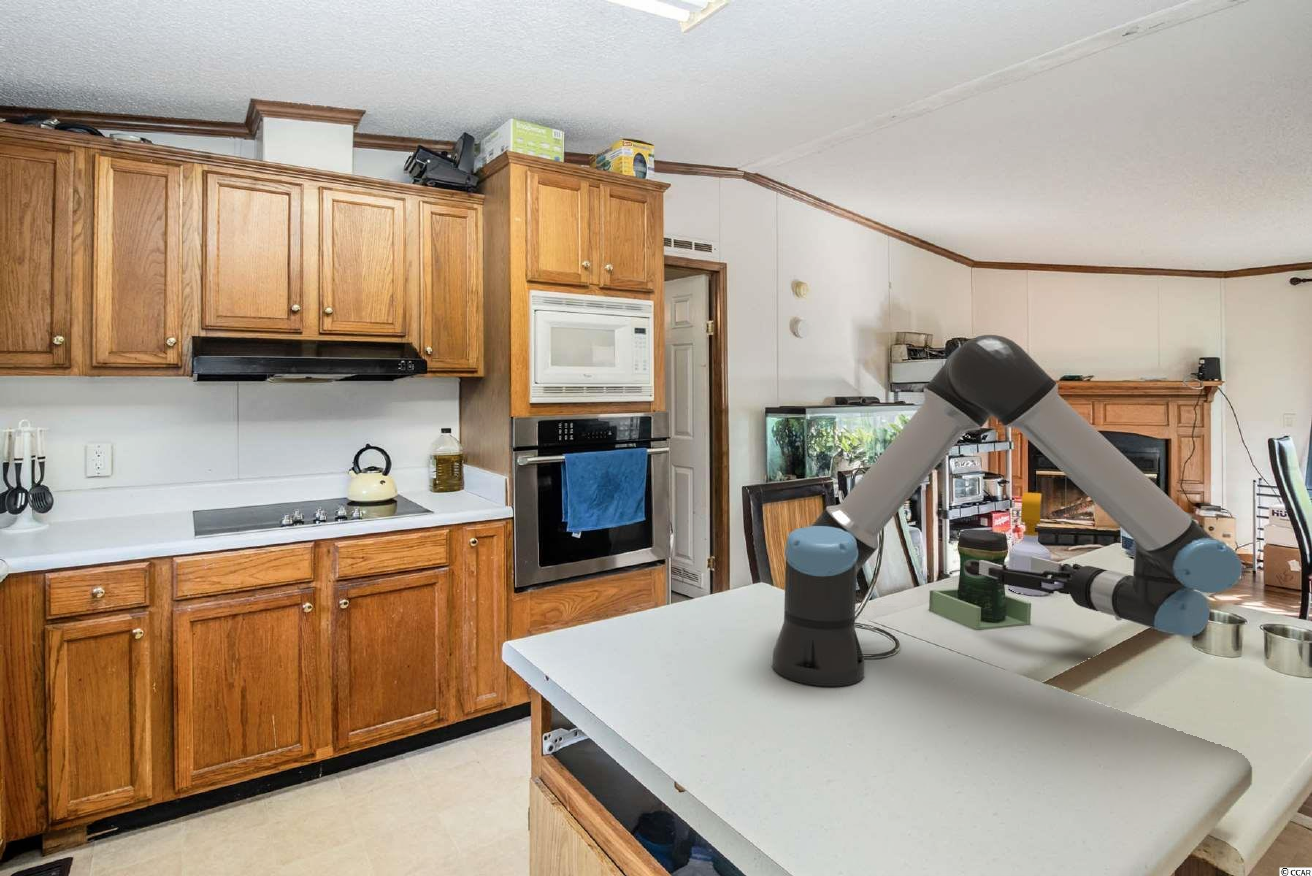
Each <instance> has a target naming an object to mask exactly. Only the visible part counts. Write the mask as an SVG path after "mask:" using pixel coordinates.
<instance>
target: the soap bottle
mask: <svg viewBox="0 0 1312 876" xmlns="http://www.w3.org/2000/svg"><path fill="white" fill-rule="evenodd" d="M1042 494H1043V493H1040V492H1039V493H1038V492H1022V496H1021V497H1022V498H1021V507H1020V508H1021V509H1020V510H1021V512H1020V523H1024V526H1026V530H1025V531H1022V540H1021V541H1019V542H1017V543H1015V544H1013V545H1012V546H1011V547H1010V549H1009V550H1008V569H1013V570H1022V571H1030V572H1038V571H1034V570H1031V557H1037V558H1042V559H1046V560H1050V561H1052V557H1051V556H1052V555H1051V552H1050V550H1049V549H1048V548H1047V547H1046V546H1044V545H1043V544H1041V543H1040V542H1039V532H1037V531H1036V532H1035V530H1036V529H1035V528H1037V527H1038V525H1041V523H1042V521H1041V506H1042V496H1043V495H1042ZM1039 573H1041V572H1039ZM1048 578H1051V575H1048ZM1007 588H1009V589H1010V590H1013V591H1015V592H1018V593H1023V594H1027V595H1026V596H1029V595H1039V596H1038V597H1041V596H1040V595H1045V596H1047V595H1046V594H1048V595H1050V594H1049V593H1046V592H1043V591H1038V590H1033V589H1027V588H1021V587H1016V586H1010V585H1007ZM1009 589H1008V590H1009ZM1010 590H1009V591H1010ZM1015 592H1014V593H1015ZM1018 593H1017V594H1018ZM1023 594H1022V595H1023Z"/></svg>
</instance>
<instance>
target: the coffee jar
mask: <svg viewBox="0 0 1312 876" xmlns="http://www.w3.org/2000/svg"><path fill="white" fill-rule="evenodd" d="M1008 544H1009V543H1008V537H1007V534H1005V533H1002V532H996V531H989V530H985V529H984V530H983V529H971V528H968V529H964V530H961V531H960V533H959V536H958V540H957V546H956V549H957V553H958V555H959V575H958V584H957V588H958V591H957V599H959V600H961V601H964V602H967V603H970V604H972V605H975V606H978V607H981V620H985V621H1001V620H1003V619H1004V618H1005V617H1006V596H1005V595H1006V588H1005V587H1006V585H1004V584H998V583H997V579H995V578H992V577H988V576H985V575H982V574H979V560H983V561H987V562H991V563H994V564H998V565H1005V561H1006V559H1007V557H1008V555H1009V545H1008Z"/></svg>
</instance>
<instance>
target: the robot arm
mask: <svg viewBox="0 0 1312 876" xmlns="http://www.w3.org/2000/svg"><path fill="white" fill-rule="evenodd" d="M1058 392H1059V384H1058V383H1057V382H1056V381H1055V380H1054V379H1053V378H1052V377H1051V376H1050V375H1049V374H1048V373H1047V372H1046V371H1045V370H1044V369H1043V368H1042V367H1041V366H1040V365H1039V364H1038V363H1037V362H1036V361H1035V360H1034V359H1033V358H1032V357H1031V356H1030V355H1029V353H1027V352H1026V351H1025V350H1024V349H1023V348H1022V347H1021V346H1020V345H1019V344H1018V343H1016V342H1015V341H1013V340H1011V339H1010V338H1007V337H1006V336H1001V335H997V334H984V335H979V336H975V337H973V338H971V339H968V340H967V341H965V342H964V343H962V344H961V346H959V347H957V348H956V349H955V350H953V351H952V352H951V354H950V355H949V356H948V357H947V358H946V360H945V362H944V364H943V365H942V366H941V367H940V369H939V370H938V371H937V372H936V374H935V375H934V376H933V377H932V379H931V380H930V381H928V384H927V385H926V386H925V387H924V389H923V396H924V401H923V403H922V404H921V406H920V407H918V410H917V411H916V412H915V413H914V414H913V415H912V416H911V418H910V419H909V420H908V421H907V423H906V424H905V425H904V426H903V428H902V429H901V430H900V431H899V432H898V433H897V435H896V436H895V437H894V438H893V439H892V440H891V442H890V443H889V444H888V445H887V447H886V448H885V449H884V450H883V451H882V453H881V454H880V455H879V456H878V458H877V459H876V460H875V461H874V463H873V464H872V465H871V466H870V467H869V468H868V469H867V471H866V472H865V474H864V475H862V477H861V478H860V479H859V481H858V482H857V483H856V485H855V486H853V488H852V489H851V490H850V492H848V494H847V495H846V496H845V498H843V500H842V501H841V502H840V504H835V505H828V506H826V507H825V508H824V510H823V511H822V512H821V513H820V515H819V516H818V517H817V518H816V519H815V520H814V522H813V523H812V524H811V526H804V527H802V528H801V527H799V528H796V529H794V530H791V532H790V533H789V534H788V536H786V537H787V538H786V543H785V547H784V557H785V569H784V571H785V572H784V573H785V574H784V576H785V577H784V605H783V606H784V608H783V609H784V612H783V614H784V617H783V623H782V626H781V629H780V632H779V634H778V637H777V640H776V643H775V645H774V646H775V647H774V649H773V652H772V668H773V670H774V671H775V672H776V673H777V674H779V675H780V676H781V677H784V678H786V679H789V680H791V681H794V682H797V683H801V684H805V685H810V686H819V687H842V686H849V685H853V684H857V683H859V682H860V681H862V680H863V678H864V677H865V663H866V662H865V659H864V655H863V651H862V648H861V645H860V642H859V638H858V634H857V632H856V627H855V626H856V625H855V622H856V596H857V595H856V592H857V591H856V590H857V575H858V572H859V571H860V570H861V568H862V567H863V566H864V565H865V564H866V562H867V561H868V560H869V559H870V558H871V557H872V555H874V553H875V552H876V551H877V550H878V548H879V540H878V537H879V534H880V533H881V531H883V529H884V528H885V527H886V526H887V524H888V523H889V522H890V521H891V520H892V518H894V516H895V515H896V514H897V513H898V511H899V510H900V509H901V508H902V507H903V506H904V504H905V503H907V501H908V500H909V499H910V498H911V496H912V495H913V494H914V493H915V492H916V491H917V489H918V488H919V487H920V486H921V484H922V483H923V482H924V481H925V480H926V479H927V478H928V476H929V475H930V474H931V473H932V472H933V471H934V469H936V467H937V466H938V465H939V463H941V461H942V460H943V459H944V458H945V457H946V455H947V454H948V453H949V451H951V449H953V447H955V445H956V444H957V443H958V441H959V440H960V439H961V438H962V437H963V435H964V434H965V433H967V432H968V431H970V432H971V431H978V430H981V428H983V426H984V425H985V424H986V423H987V422H988V421H989V419H990V418H991V417H994V418H995V419H996V420H997V421H999V422H1000V424H1002V425H1003V427H1005V428H1014V429H1017V431H1019V432H1020V433H1021V435H1023V436H1024V437H1025V438H1026V439H1027V440H1028V441H1029V442H1031V444H1032V445H1034V446H1035V447H1036V448H1037V449H1038V450H1039V451H1040V452H1041V453H1042V454H1043V455H1044V456H1045V457H1046V458H1047V459H1048V460H1049V461H1050V462H1052V463H1053V464H1054V465H1055V466H1056V467H1057V468H1058V469H1059V470H1060V471H1061V472H1062V473H1063V474H1064V475H1065V476H1067V478H1068V479H1070V480H1071V482H1072V483H1074V484H1075V485H1076V486H1077V487H1078V488H1079V489H1080V490H1081V491H1083V492H1084V494H1085V495H1086V496H1088V498H1089V499H1091V500H1092V501H1093V502H1094V504H1096V505H1097V506H1098V507H1099V508H1100V509H1102V510H1103V511H1104V513H1106V515H1108V517H1110V518H1111V519H1112V520H1113V521H1114V522H1115V523H1116V524H1117V525H1118V526H1119V527H1121V529H1122V530H1124V532H1126V533H1127V534H1128V535H1129V536H1130V537H1131V538H1132V539H1133V541H1134V542H1133V549H1134V550H1133V569H1132V570H1133V571H1132V572H1133V574H1132V575H1131V574H1127V573H1122V572H1119V571H1116V570H1115V571H1114V570H1107V569H1104V568H1100V567H1096V566H1092V565H1091V566H1090V565H1085V566H1083V565H1082V564H1081V565H1080V564H1078V563H1073V564H1072V565H1071V564H1069V563H1061V562H1057V561H1053V560H1051V561H1050V560H1046V559H1042V558H1037V557H1031V570H1034V571H1038V572H1030V571H1022V570H1013V569H1009V566H1007V564H1004V565H998V564H994V563H991V562H987V561H983V560H979V574H982V575H985V576H988V577H992V578H995V579H997V583H998V584H1004V585H1005V586H1008V585H1010V586H1016V587H1021V588H1027V589H1033V590H1038V591H1043V592H1046V593H1049V594H1048V595H1052V594H1055V592H1058V593H1059V594H1062V595H1063V594H1064V595H1070V598H1071V599H1072V601H1073V602H1074V603H1075V604H1076V605H1077V606H1078V607H1082V608H1084V609H1088V610H1092V611H1095V612H1100V613H1102V614H1106V615H1109V616H1113V617H1115V620H1116V621H1122V620H1125V621H1129V622H1133V623H1136V624H1139V625H1142V626H1145V627H1149V628H1151V629H1155V630H1156V631H1159V632H1162V633H1163V632H1164V633H1168V634H1172V635H1176V636H1181V637H1188V638H1189V637H1193V636H1196V635H1199V634H1200V633H1201V632H1202V631H1203V630H1204V629H1205V628H1206V626H1207V624H1208V623H1209V622H1208V621H1209V619H1210V613H1211V610H1210V609H1211V608H1210V606H1209V605H1208V599H1207V598H1206V596H1205V595H1204V593H1206V594H1217V593H1221V592H1225V591H1227V590H1229V589H1232V587H1233V586H1235V585H1236V583H1238V581H1239V580H1240V578H1241V576H1242V571H1243V566H1242V565H1243V564H1242V561H1241V558H1240V556H1239V555H1238V553H1237V552H1236V551H1235V549H1233V548H1232V547H1230V546H1229V545H1227V544H1226V543H1225V542H1224V541H1221V540H1219V539H1216V538H1214V537H1213V536H1212V535H1210V534H1209V532H1207V531H1206V530H1205V529H1204V528H1203V527H1202V526H1200V524H1199V523H1197V522H1196V521H1195V520H1194V519H1193V516H1192V515H1191V514H1190V513H1188V512H1186V511H1184V510H1183V508H1182V507H1180V506H1179V505H1178V504H1177V503H1176V502H1175V501H1174V500H1172V498H1170V496H1168V495H1167V494H1166V493H1165V491H1163V490H1162V489H1161V488H1160V487H1159V486H1158V485H1156V484H1155V483H1154V482H1153V480H1151V479H1150V478H1149V477H1148V476H1147V475H1146V474H1145V473H1143V471H1142V470H1141V469H1139V468H1138V467H1137V466H1136V465H1135V464H1134V462H1132V461H1130V459H1129V458H1127V456H1125V454H1123V453H1122V452H1121V451H1120V450H1119V449H1118V448H1117V447H1115V446H1114V445H1113V443H1111V442H1110V441H1109V440H1108V439H1107V438H1106V437H1105V436H1104V435H1103V434H1102V433H1100V432H1099V431H1098V430H1097V428H1095V426H1093V425H1092V424H1091V423H1090V422H1089V421H1088V420H1086V418H1084V417H1083V416H1082V415H1081V414H1080V413H1079V412H1078V411H1077V410H1076V409H1075V408H1074V407H1072V406H1071V405H1070V404H1069V403H1068V402H1067V401H1066V400H1065V399H1064V398H1062V396H1061V395H1060V394H1059V393H1058ZM1039 572H1041V573H1039ZM1048 575H1050V578H1048ZM1202 593H1203V594H1202Z"/></svg>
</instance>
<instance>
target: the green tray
mask: <svg viewBox="0 0 1312 876" xmlns="http://www.w3.org/2000/svg"><path fill="white" fill-rule="evenodd" d="M957 591H958V587H956V588H948V589H947V588H946V589H944V588H943V589H934V590H933V589H932V590H929V602H928V603H929V604H928V605H929V606H928V611H929V612H930V613H931V612H932V613H934V614H936V615H939V616H941V617H944V618H946V619H949V620H951V621H954V622H955V623H958V624H961V625H963V626H966V627H968V628H971V629H973V630H976V631H979V630H981V631H982V630H988V629H998V628H1009V627H1018V626H1029V625H1031V618H1032V616H1031V615H1032V614H1031V613H1032V603H1031V602H1029V601H1025V600H1023V599H1020V598H1016V597H1013V596H1010V595H1008V594H1007V595H1006V594H1005V596H1006V617H1005V618H1004V619H1003V620H1001V621H985V620H981V607H978V606H975V605H972V604H970V603H967V602H964V601H961V600H959V599H957Z"/></svg>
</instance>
